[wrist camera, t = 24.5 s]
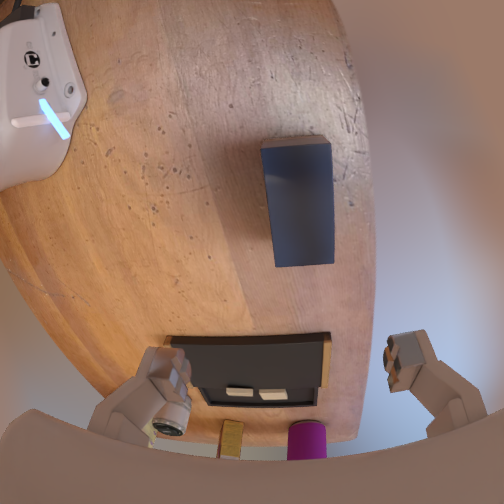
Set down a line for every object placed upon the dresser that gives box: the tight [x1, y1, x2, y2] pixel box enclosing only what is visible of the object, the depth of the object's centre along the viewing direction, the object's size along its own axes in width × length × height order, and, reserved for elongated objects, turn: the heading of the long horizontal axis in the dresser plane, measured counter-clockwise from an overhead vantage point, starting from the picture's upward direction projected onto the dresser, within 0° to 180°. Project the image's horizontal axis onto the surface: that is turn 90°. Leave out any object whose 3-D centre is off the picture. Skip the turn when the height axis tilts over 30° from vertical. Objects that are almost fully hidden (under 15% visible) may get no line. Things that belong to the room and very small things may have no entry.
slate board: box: [163, 332, 332, 389], centre depth 37 cm, size 11×22×2 cm, turn 99°
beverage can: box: [287, 421, 327, 460], centre depth 44 cm, size 8×8×12 cm
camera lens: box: [152, 396, 191, 436], centre depth 44 cm, size 6×6×8 cm
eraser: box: [260, 135, 335, 267], centre depth 23 cm, size 5×10×4 cm, turn 9°
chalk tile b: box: [259, 389, 288, 400], centre depth 41 cm, size 4×4×1 cm
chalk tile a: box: [226, 388, 253, 396], centre depth 40 cm, size 4×4×1 cm
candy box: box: [216, 419, 244, 460], centre depth 46 cm, size 9×4×15 cm, turn 168°
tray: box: [198, 387, 318, 408], centre depth 42 cm, size 7×19×1 cm, turn 99°
